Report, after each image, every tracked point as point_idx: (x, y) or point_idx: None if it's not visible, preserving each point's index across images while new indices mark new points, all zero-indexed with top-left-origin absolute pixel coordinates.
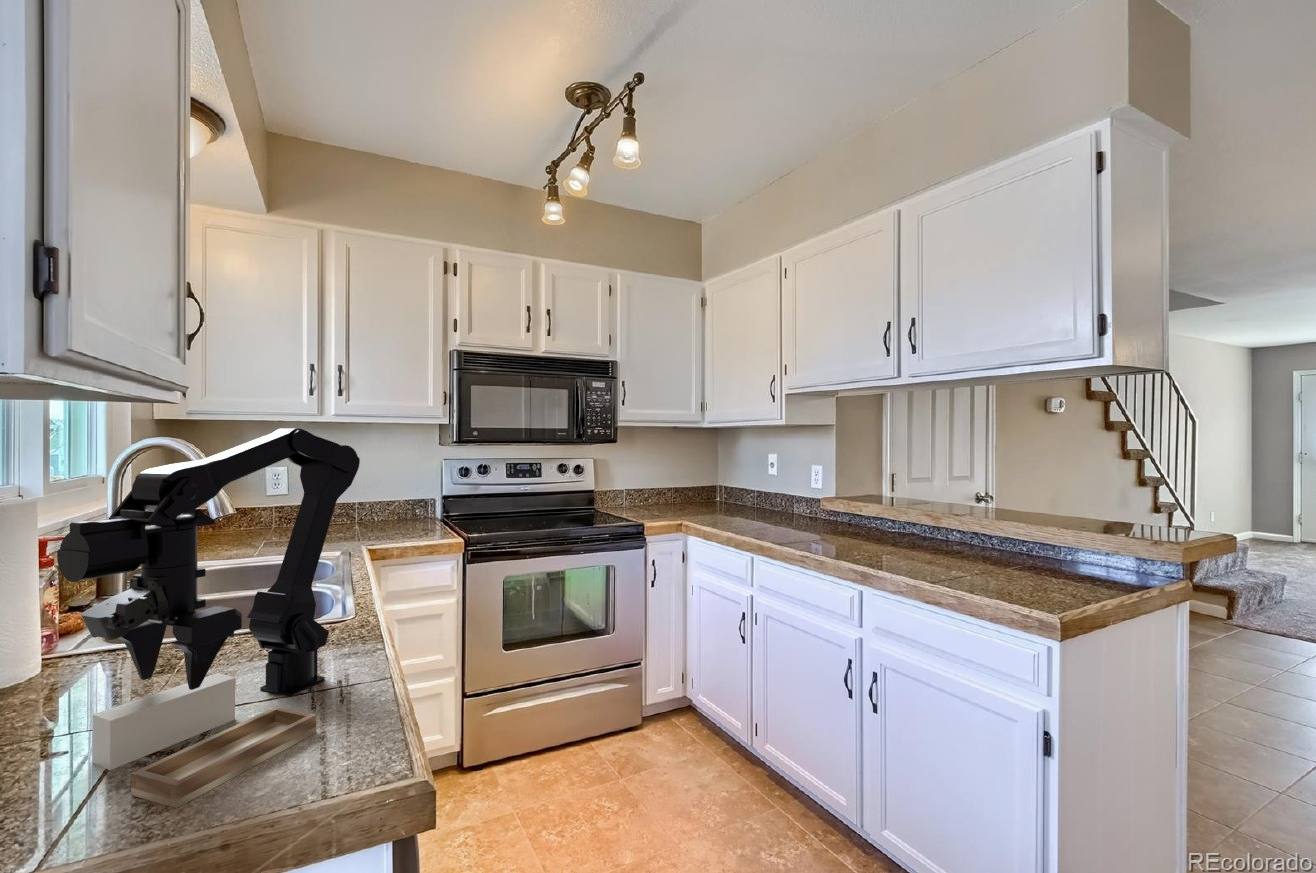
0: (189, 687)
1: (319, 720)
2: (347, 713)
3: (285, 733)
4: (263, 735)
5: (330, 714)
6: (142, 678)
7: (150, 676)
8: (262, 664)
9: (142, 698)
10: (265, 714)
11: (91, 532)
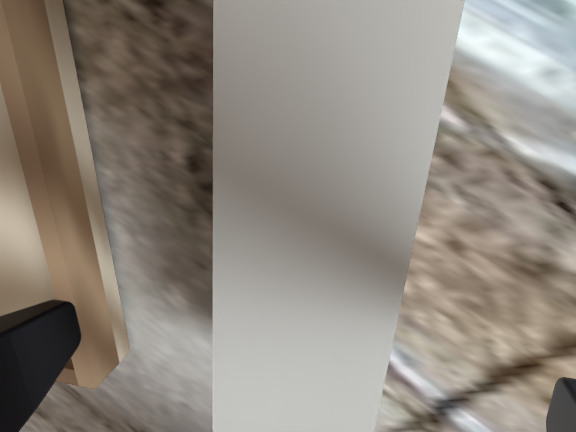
0: (54, 305)
1: (70, 384)
2: (51, 419)
3: None
4: (44, 274)
5: (78, 412)
6: (564, 383)
7: (550, 426)
8: None
9: (404, 234)
10: None
11: None
